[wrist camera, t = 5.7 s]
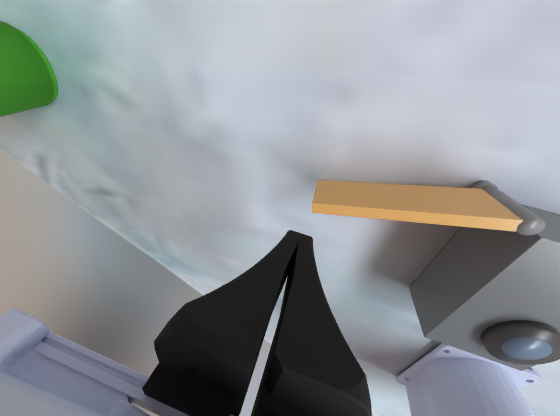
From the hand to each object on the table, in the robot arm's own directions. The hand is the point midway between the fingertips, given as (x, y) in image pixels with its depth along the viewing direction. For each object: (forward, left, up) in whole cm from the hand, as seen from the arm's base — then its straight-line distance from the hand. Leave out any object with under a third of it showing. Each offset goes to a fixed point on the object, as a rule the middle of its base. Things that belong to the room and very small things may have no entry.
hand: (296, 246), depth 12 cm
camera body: (0, -13, -5) cm, 14 cm away
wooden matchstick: (+3, -5, -4) cm, 7 cm away
